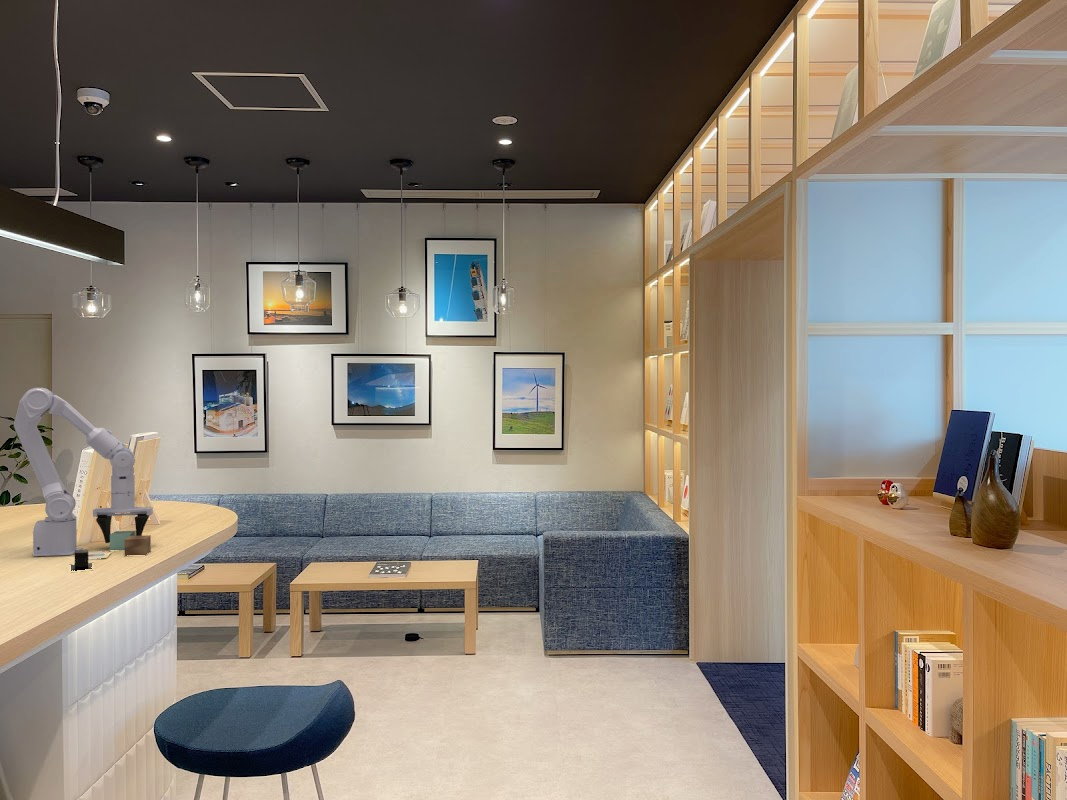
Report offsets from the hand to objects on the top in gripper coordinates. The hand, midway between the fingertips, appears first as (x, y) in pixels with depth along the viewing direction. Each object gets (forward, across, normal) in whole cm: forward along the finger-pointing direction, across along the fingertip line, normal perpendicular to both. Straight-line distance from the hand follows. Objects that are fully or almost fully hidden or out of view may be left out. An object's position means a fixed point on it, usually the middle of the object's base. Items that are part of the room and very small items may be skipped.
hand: (123, 542), depth 214 cm
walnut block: (+2, -6, +8) cm, 10 cm away
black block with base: (+2, +3, +22) cm, 23 cm away
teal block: (+2, 0, 0) cm, 2 cm away
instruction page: (+2, +4, +9) cm, 10 cm away
